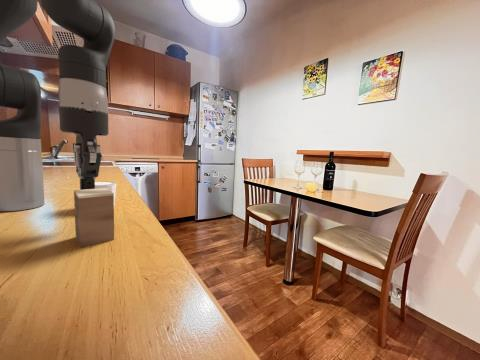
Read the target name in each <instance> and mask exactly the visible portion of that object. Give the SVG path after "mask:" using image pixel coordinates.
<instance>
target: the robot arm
mask: <svg viewBox="0 0 480 360" xmlns="http://www.w3.org/2000/svg"><path fill="white" fill-rule="evenodd" d="M40 2H41V4H40V5H41V6H42V8H43V10H44V12H45V14H47V15H48V17H49V18H50V19H51V21H53V22H54V23H55V24H56V25H58V26H59V27H60V28H62V29H64V30H66V31H68V32H70V33H72V34H73V35H75V36H77V37H78V38H81V39H83V45H82V46H80V45H74V44H63V45H62V46H60V47H59V49H58V53H57V59H58V74H59V75H58V76H59V78H58V80H59V81H58V90H57V92H58V93H57V96H58V115H59V117H58V118H59V129H60V131H61V132H63V133H66V134H73V135H75V142H72V143H71V151H72V153H73V157H74V158H73V159H74V166H75V167H76V168H75V171H76V174H77V177H78V179H79V190H85V189H95V182H96V181H95V180H96V178H98V176H99V174H100V173H99V172H100V167H101V160H102V157H103V155H102V152H101V145H100V144H98V142H97V141H98V139H97V136H98V137H106V136H108V135H109V99H108V95H107V70H106V69H107V65H108V62H109V58H110V55H111V51H112V48H113V45H114V41H115V37H116V27H115V23H114V19H113V17H112V14H110V12H109V11H108V9H106V7H104V6H102V4H100V3H99V2H97V1H96V0H40ZM37 9H38V0H0V46H1V44H2V43H3V42H4V41H5V40H6V39H7V38H8V37H9V36H10V35H11V34H12V33H13V32H15V31H17V30H18V29H19V28H21V27H22V26H24V25H25V24H26V23H27V22H29V21H30V20H31V19H32V18H33V17H34V16H35V15H36V13H37V11H38V10H37ZM0 107H3V108H10V109H15V110H17V111H16V114H15V116H13V117H10V118H5V119H2V120H0V212H14V211H24V210H30V209H35V208H39V207H42V206H44V205H45V184H44V183H45V182H44V172H43V171H44V170H43V155H42V152H43V151H42V139H41V131H42V89H41V84H40V81H39V79H38V77H37V76H36V75H35V74H34V73H31V72H29V71H26V70H23V69H20V68H16V67H14V66H13V67H11V66H9V65H5V64H2V63H0Z"/></svg>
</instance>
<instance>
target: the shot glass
mask: <svg viewBox="0 0 480 360" xmlns="http://www.w3.org/2000/svg"><path fill="white" fill-rule="evenodd" d="M100 188H107V189H108V190H110V191H111V192H113V193H114V204H115V202H116V193H117V191H116V190H117V183H116V182H115V181H108V180H107V181H106V180H105V181H104V180H102V181H101V180H99V181H95V189H100Z"/></svg>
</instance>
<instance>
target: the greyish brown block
mask: <svg viewBox="0 0 480 360" xmlns="http://www.w3.org/2000/svg"><path fill="white" fill-rule="evenodd" d="M73 201H74V223H75V224H74V226H75V227H74V228H75V239H76V241H77V244H78V245H79V247H80V248H85V247H89V246H94V245H97V244H98V245H99V244H102V243H107V242H111V241H115V203H114V193H113V192H111V191H110V190H108V189H107V188H100V189H85V190H80V189H73Z"/></svg>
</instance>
